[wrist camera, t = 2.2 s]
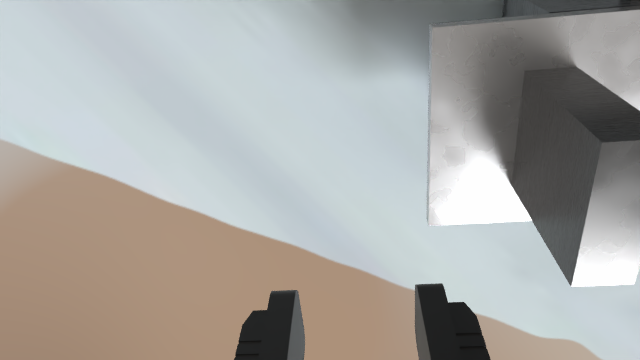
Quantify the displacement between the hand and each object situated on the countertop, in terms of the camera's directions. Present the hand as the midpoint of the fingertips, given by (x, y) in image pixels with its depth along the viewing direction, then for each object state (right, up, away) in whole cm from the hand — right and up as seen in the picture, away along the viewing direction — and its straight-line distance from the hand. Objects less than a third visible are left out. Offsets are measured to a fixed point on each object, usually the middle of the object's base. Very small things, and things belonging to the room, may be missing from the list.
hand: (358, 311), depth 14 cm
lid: (+13, +7, +18) cm, 23 cm away
